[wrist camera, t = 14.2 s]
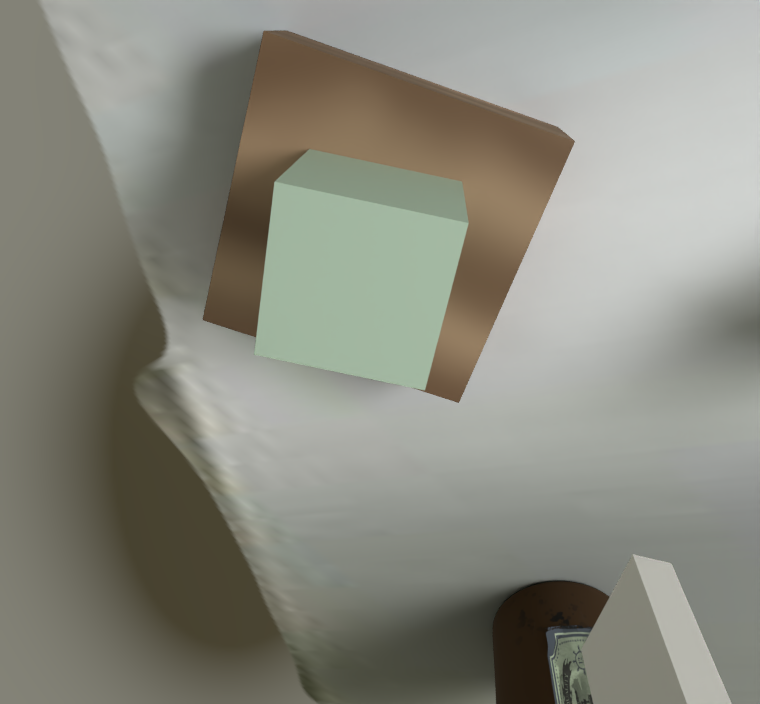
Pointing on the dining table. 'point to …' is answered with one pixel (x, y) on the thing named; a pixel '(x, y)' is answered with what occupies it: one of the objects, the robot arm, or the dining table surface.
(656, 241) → the dining table surface
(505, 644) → the brown bottle
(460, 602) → the dining table surface
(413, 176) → the sage cube
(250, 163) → the walnut block
